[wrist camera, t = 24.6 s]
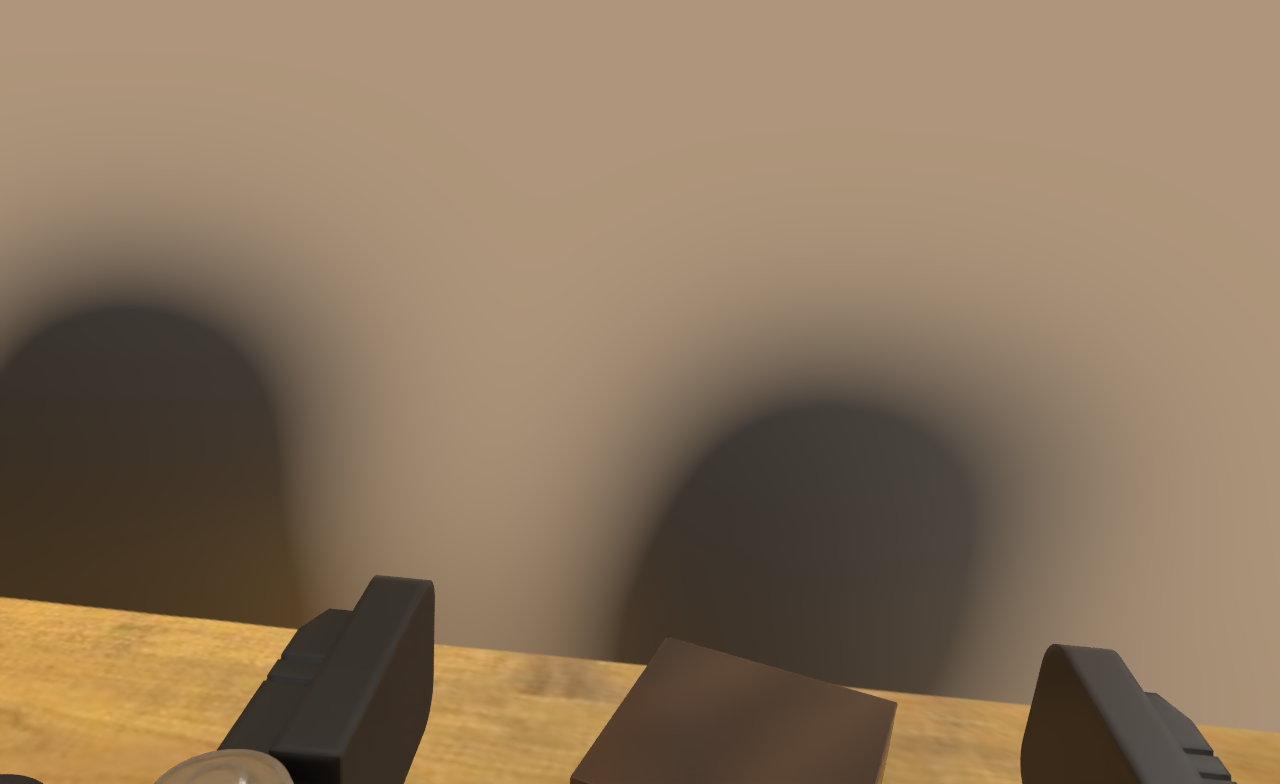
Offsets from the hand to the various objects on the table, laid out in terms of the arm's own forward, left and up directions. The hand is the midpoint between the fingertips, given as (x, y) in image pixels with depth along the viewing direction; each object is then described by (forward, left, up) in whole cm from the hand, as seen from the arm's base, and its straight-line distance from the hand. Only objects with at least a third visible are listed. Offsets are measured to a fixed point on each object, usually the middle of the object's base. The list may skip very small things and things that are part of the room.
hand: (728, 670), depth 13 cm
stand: (+5, -27, -30) cm, 41 cm away
